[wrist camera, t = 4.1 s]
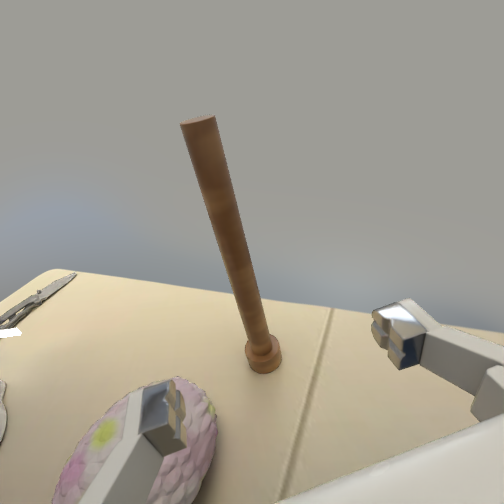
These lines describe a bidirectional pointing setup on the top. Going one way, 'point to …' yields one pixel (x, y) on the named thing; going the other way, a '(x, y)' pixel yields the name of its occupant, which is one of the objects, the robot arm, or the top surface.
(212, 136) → the muddler
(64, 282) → the knife
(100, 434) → the decorative item
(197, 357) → the top surface
